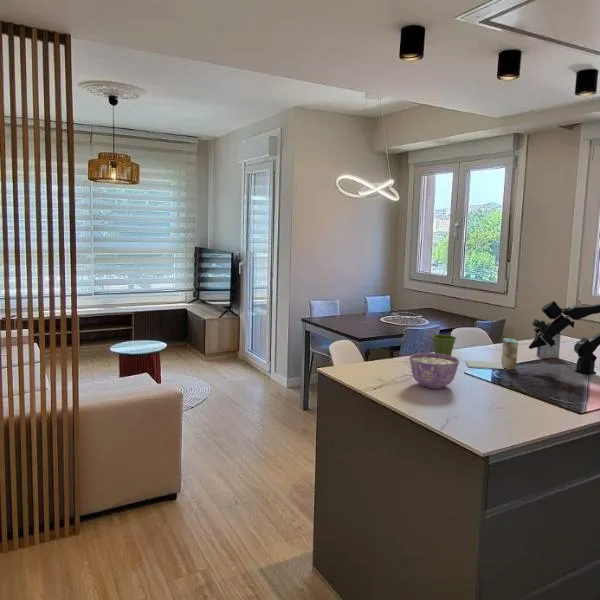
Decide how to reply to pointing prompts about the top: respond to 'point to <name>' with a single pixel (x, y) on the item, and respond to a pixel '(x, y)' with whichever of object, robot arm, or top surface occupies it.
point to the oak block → (509, 353)
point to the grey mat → (484, 364)
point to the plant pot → (443, 344)
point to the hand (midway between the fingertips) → (529, 348)
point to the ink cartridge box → (550, 349)
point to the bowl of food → (433, 369)
